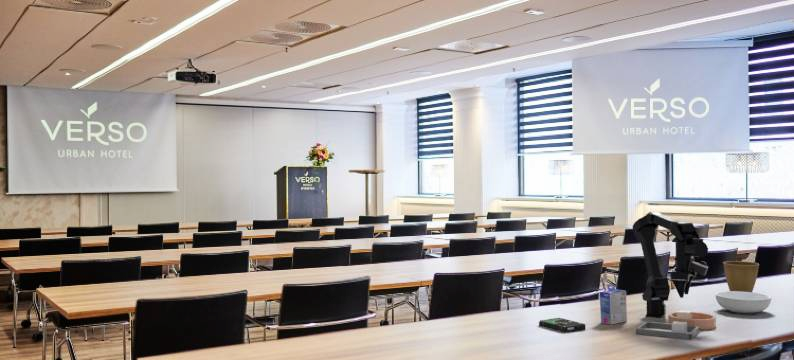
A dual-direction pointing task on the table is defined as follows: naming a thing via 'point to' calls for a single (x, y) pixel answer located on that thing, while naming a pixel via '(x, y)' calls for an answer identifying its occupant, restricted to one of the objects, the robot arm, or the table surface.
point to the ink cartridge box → (613, 306)
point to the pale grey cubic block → (679, 327)
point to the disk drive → (562, 325)
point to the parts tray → (643, 330)
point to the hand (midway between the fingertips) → (684, 295)
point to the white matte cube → (684, 314)
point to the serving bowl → (743, 301)
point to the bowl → (695, 320)
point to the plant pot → (741, 275)
